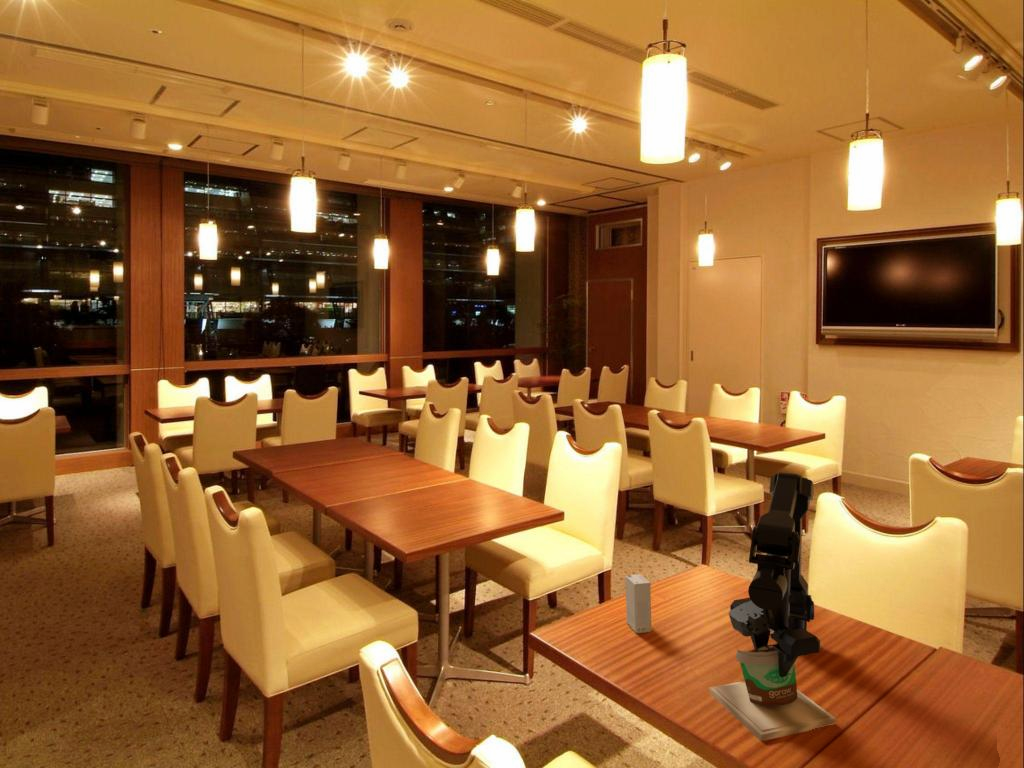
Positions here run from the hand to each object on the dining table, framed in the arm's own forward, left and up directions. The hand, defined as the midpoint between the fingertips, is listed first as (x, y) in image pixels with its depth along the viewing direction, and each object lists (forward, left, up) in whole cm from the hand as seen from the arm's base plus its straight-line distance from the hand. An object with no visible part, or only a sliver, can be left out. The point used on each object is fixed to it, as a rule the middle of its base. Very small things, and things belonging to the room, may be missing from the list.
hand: (771, 668), depth 127 cm
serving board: (0, 0, -9) cm, 9 cm away
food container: (-1, +2, -6) cm, 6 cm away
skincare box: (+8, -38, -8) cm, 40 cm away
